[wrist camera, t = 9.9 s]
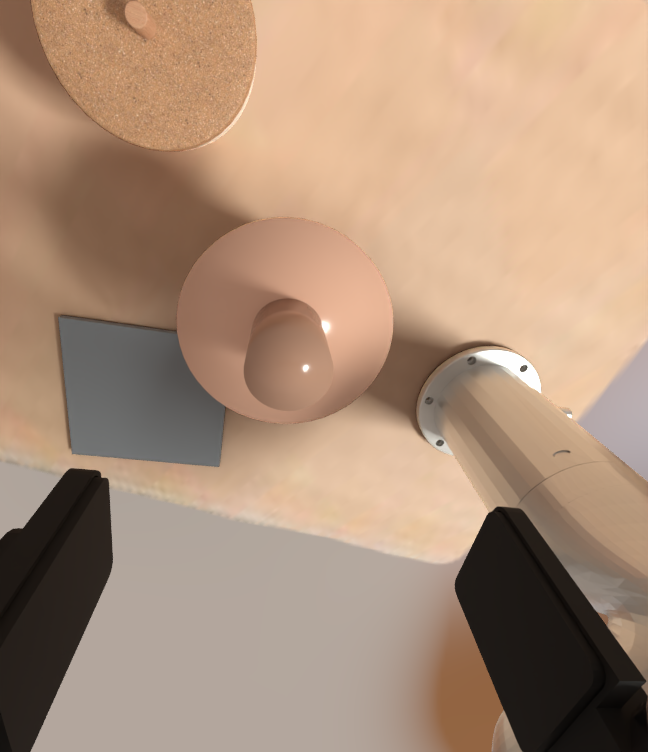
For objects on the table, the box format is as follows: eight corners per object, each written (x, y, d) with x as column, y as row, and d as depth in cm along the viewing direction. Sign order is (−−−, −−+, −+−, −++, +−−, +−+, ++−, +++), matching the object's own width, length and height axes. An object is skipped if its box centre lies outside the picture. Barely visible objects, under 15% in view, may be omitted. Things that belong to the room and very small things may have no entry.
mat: (232, 339, 35) (231, 341, 35) (219, 463, 41) (219, 466, 41) (61, 315, 33) (58, 317, 32) (74, 450, 39) (72, 453, 38)
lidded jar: (106, -81, 23) (6, -228, 15) (282, 6, 26) (282, -78, 17) (88, 122, 27) (2, 97, 19) (240, 180, 30) (224, 180, 21)
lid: (414, 239, 21) (456, 259, 16) (364, 425, 26) (384, 486, 21) (182, 195, 19) (145, 202, 14) (177, 406, 24) (149, 467, 19)
